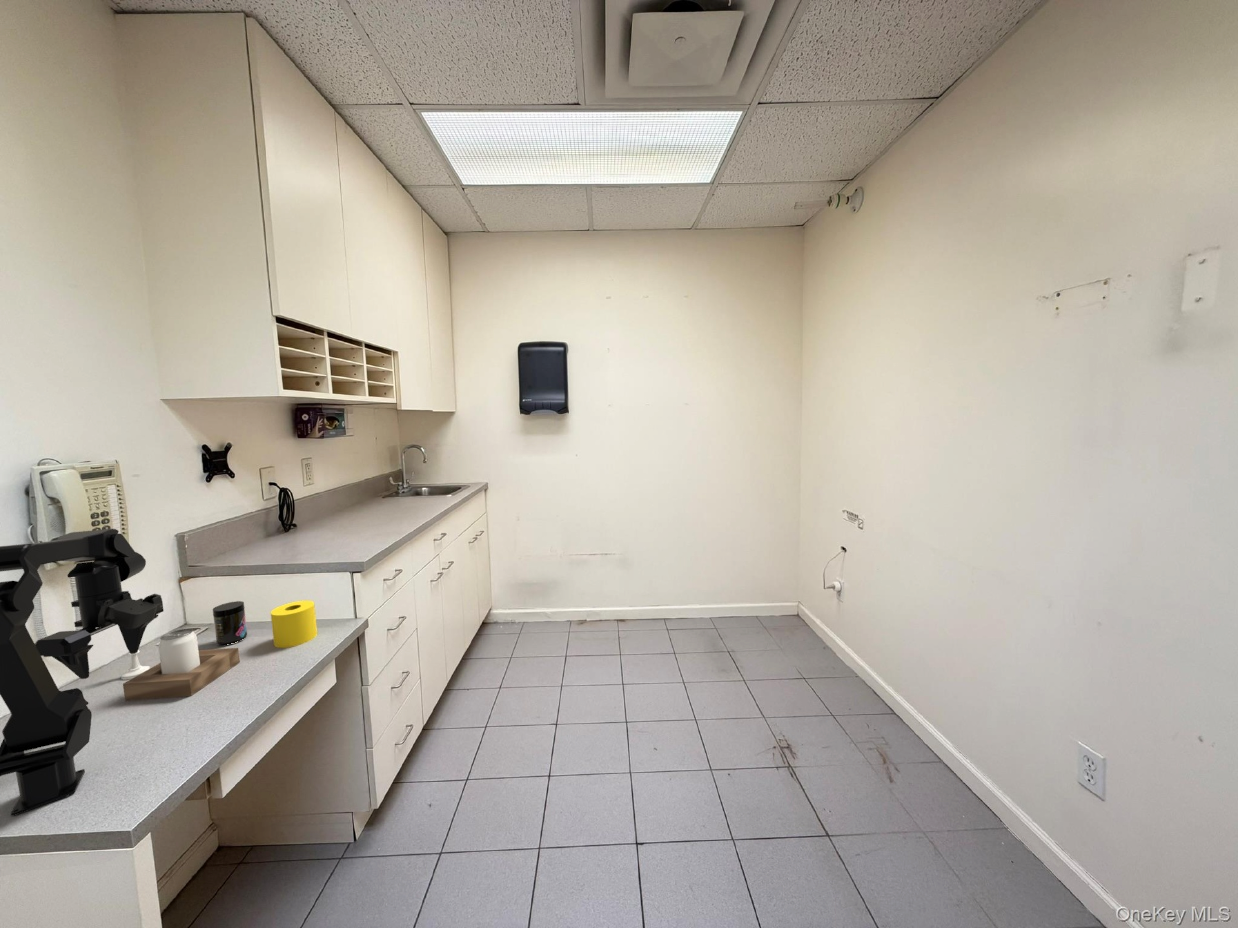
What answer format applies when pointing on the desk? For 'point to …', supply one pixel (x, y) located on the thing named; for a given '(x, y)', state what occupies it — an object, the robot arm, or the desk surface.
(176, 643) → the can
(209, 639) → the desk surface
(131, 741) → the desk surface
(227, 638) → the supplement container
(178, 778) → the desk surface
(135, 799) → the desk surface
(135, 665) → the chess piece
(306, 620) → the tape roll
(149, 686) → the bored block
